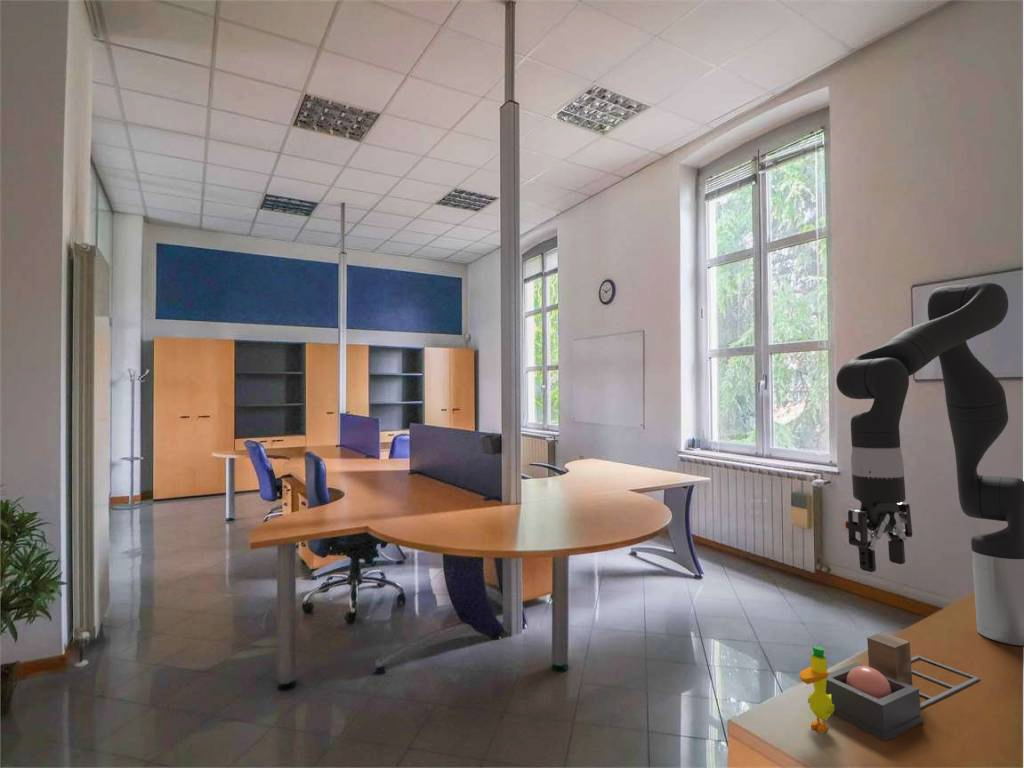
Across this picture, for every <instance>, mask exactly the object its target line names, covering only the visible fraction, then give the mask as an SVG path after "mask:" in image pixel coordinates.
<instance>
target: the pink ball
mask: <svg viewBox="0 0 1024 768" xmlns="http://www.w3.org/2000/svg"><path fill="white" fill-rule="evenodd" d="M846 684H847V685H849V686H851V687H853V688H855V689H857V690H860V691H862V692H864V693H866V694H868V695H870V696H873V697H875V698H877V699H881V698H883V697H885V696H887V695H890V694H892V691H891V687H890V684H889V682H888V681H887V679H886V678H885V677H884V676H883V675H882V674H881V673H880V672H879V671H877V670H876V669H874V668H871V667H869V665H863V666H858V667H855V668H853V669H852V670H851V671H850V672H849V673H848V675H847V679H846Z"/></svg>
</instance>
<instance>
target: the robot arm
mask: <svg viewBox="0 0 1024 768" xmlns="http://www.w3.org/2000/svg"><path fill="white" fill-rule="evenodd" d="M1008 309H1009V298H1008V293H1007V292H1006V290H1005V289H1004V288H1003V287H1002V286H1001V285H999V284H997V283H995V282H994V283H993V282H976V283H974V282H972V283H965V284H956V285H947V286H946V285H944V286H941V287H940V286H939V287H937V288H935V289H934V290H933V291H932V292H931V293H930V295H929V297H928V301H927V316H928V317H927V318H928V321H925V322H923V323H919V324H917V325H914V326H911V327H909V328H907V329H905V330H902V331H901V332H900V333H898V334H897V335H895V336H894V337H893V338H891V339H889V340H888V341H887V342H885V343H884V344H883V345H881V346H879V347H877V348H874V349H872V350H869V351H866V352H865V353H862V354H860V355H857V356H855V357H853V358H852V359H851V358H850V359H849V360H848V361H846V362H845V363H844V364H843V365H842V366H841V367H840V369H839V370H838V373H837V375H836V381H835V382H836V386H837V388H838V389H837V390H839V392H840V393H841V394H842V395H843V396H845V397H846V398H849V399H851V400H873V403H872V406H871V407H870V409H869V410H868V411H866V412H860V413H857V414H855V415H853V416H852V417H851V419H850V437H851V438H850V439H851V454H850V455H851V456H850V465H851V466H850V467H851V483H852V496H853V498H854V499H855V500H857V501H859V503H860V507H859V509H860V510H858V509H853V508H852V509H850V508H849V510H848V511H847V517H848V520H847V521H848V523H847V524H848V525H847V528H848V544H849V545H852V546H855V547H856V548H858V557H859V569H861V570H862V571H865V572H869V573H874V572H876V571H877V564H876V550H875V547H876V545H877V544H876V543H877V542H878V540H881V539H882V537H883V534H885V535H886V536H887V538H888V541H887V543H888V544H887V545H888V560H889V561H890V563H894V564H897V565H903V564H905V563H906V554H905V551H906V550H905V544H904V543H906V542H907V541H908V540H907V539H908V538H912V537H913V527H912V518H911V515H912V514H911V508H910V504H909V503H907V502H906V499H907V498H906V486H905V468H904V467H905V466H904V458H903V454H902V448H901V435H900V422H901V418H902V413H903V409H904V404H905V401H906V398H907V395H908V392H909V391H908V390H909V386H910V385H909V384H910V377H911V376H912V375H915V374H916V373H917V372H919V371H920V370H921V369H922V368H924V367H925V366H927V365H928V364H929V363H931V362H932V361H933V360H935V358H936V359H937V357H938V358H939V359H938V360H939V364H940V369H941V374H942V380H943V381H942V382H943V385H944V392H945V393H944V394H945V396H944V397H945V403H946V409H947V410H946V411H947V416H948V420H949V427H950V430H951V436H952V437H951V438H952V441H953V446H954V453H955V455H954V456H955V464H956V465H955V466H956V477H957V479H956V480H957V489H958V492H957V493H958V500H959V505H960V509H962V512H963V513H964V515H966V516H967V517H970V518H975V519H980V520H981V519H982V520H988V521H998V522H1006V523H1007V526H1006V527H1005V528H1002V529H1000V530H998V531H993V532H987V533H980V534H976V535H974V536H972V537H971V539H970V543H971V544H970V545H971V546H970V547H971V559H972V574H973V588H974V589H973V590H974V601H975V615H976V617H975V619H976V629H977V633H978V634H980V635H981V636H983V637H985V638H987V639H990V640H993V641H995V642H996V641H997V642H1000V643H1003V644H1008V645H1013V646H1020V647H1021V646H1023V647H1024V480H1023V479H1022V478H1019V477H1013V476H999V475H998V476H997V475H996V476H995V475H980V474H978V470H977V468H978V466H979V463H980V462H981V460H982V459H983V458H984V456H985V453H986V452H987V451H988V450H989V448H990V447H991V446H992V445H993V444H994V443H995V441H996V440H997V439H998V438H999V437H1000V435H1001V434H1002V433H1003V431H1004V430H1005V428H1006V426H1007V425H1008V422H1009V411H1008V406H1007V405H1008V404H1007V396H1006V391H1005V390H1004V387H1003V385H1002V384H1001V382H1000V381H999V380H998V378H997V377H995V375H994V374H992V373H993V372H991V371H990V370H989V369H988V368H987V367H986V366H985V365H984V364H983V363H982V362H981V361H980V360H979V359H978V358H977V356H975V355H974V353H973V352H972V350H971V349H970V348H969V345H968V342H967V341H969V340H971V339H973V338H975V337H977V336H979V335H981V334H984V333H986V332H989V331H990V330H993V329H994V328H996V327H998V326H999V325H1000V324H1001V323H1002V322H1003V321H1004V319H1005V318H1006V316H1007V315H1008V311H1009V310H1008ZM903 524H904V525H903ZM856 533H858V535H856ZM868 539H869V540H868Z"/></svg>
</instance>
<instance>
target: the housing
mask: <svg viewBox="0 0 1024 768" xmlns="http://www.w3.org/2000/svg"><path fill="white" fill-rule="evenodd" d="M858 666H864V665H863V664H860V663H858V662H854V663H851V664H849V665H846V666H843V667H841V668H838V669H835V670H832V671H831V672H830V671H829V674H828V676H827V683H826V694H827V695H829V694H831V700H832V704H833V705H834V712H833V714H832V715H834V714H835V715H834V716H836V717H838V718H840V719H841V718H842V719H841V720H844V721H846V722H848V723H849V724H851V725H853V726H855V727H857V728H859V729H860V730H862V731H865V732H866V733H868V734H870V735H872V736H874V737H876V738H878V739H880V740H882V741H883V742H887V741H888V740H891V739H893V738H895V737H897V736H899V735H901V734H903V733H904V732H907V731H908V730H910V729H913V728H914V727H917V726H918V725H920V724H922V723H924V716H923V714H922V713H921V709H920V703H921V699H920V698H921V696H919V692H920V688H919V687H916V686H911V685H909V684H906V683H904V682H902V681H899V680H897V679H894V678H892V677H890V676H887V675H885V674H882V673H881V674H882V675H883V676H884V677H885V678H886V679H887V681H888V682H889V684H890V687H891V691H892V694H890V695H887V696H885V697H883V698H881V699H877V698H875V697H873V696H870V695H868V694H866V693H864V692H862V691H860V690H857V689H855V688H853V687H851V686H849V685H847V684H846V679H847V675H848V673H849V672H850V671H851V670H852V669H853V668H855V667H858Z"/></svg>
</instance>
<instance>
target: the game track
mask: <svg viewBox="0 0 1024 768" xmlns="http://www.w3.org/2000/svg"><path fill="white" fill-rule="evenodd" d="M918 660H920V661H924V662H927V663H929V662H930V664H932V663H933V664H932V665H934V664H936V665H935V666H937V665H938V666H937V667H940V666H941V667H940V668H942V667H944V668H943V669H945V668H946V669H945V670H948V671H950V672H954V673H956V674H958V675H962V676H964V677H966V678H969V679H967V680H966V681H964V682H962V683H959V684H957V685H955V686H954V685H952V684H949V683H946V682H943V681H941V680H939V679H937V678H933V677H931V676H928V675H926V674H923V673H920V672H918V671H916V670H913V669H912V675H916V676H918V677H921V678H924V679H926V680H928V681H930V682H934V683H936V684H939V685H940V686H941V685H942V686H943V687H947V688H948V689H947V690H945V691H943V692H941V693H939V694H937V695H935V696H931V695H928V694H925V693H923V692H921V691H919V696H920V697H922V698H924V699H926V700H924V701H921V702H920V710H922V709H923V708H925V707H928V706H929V705H931V704H934V703H936V702H938V701H940V700H942V699H944V698H945V697H948V696H950V695H952V694H954V693H956V692H958V691H961V690H962V689H964V688H966V687H968V686H971V685H973V684H975V683H976V682H979V681H980V680H981V678H980V677H977V676H975V675H972V674H969V673H966V672H965V671H961V670H958V669H956V668H953V667H951V666H948V665H945V664H942V663H940V662H936V661H934V660H932V659H929V658H925V657H923V656H920V655H914V656H911V663H913V662H915V661H918Z"/></svg>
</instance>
